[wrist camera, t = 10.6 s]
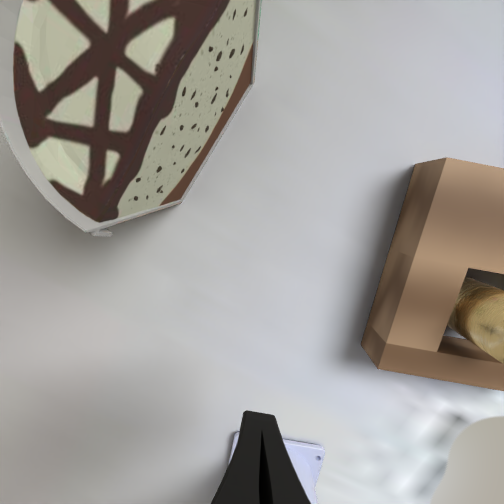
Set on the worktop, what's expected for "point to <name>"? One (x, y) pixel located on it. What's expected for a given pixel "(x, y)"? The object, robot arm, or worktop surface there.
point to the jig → (438, 273)
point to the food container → (121, 97)
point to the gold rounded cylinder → (480, 316)
